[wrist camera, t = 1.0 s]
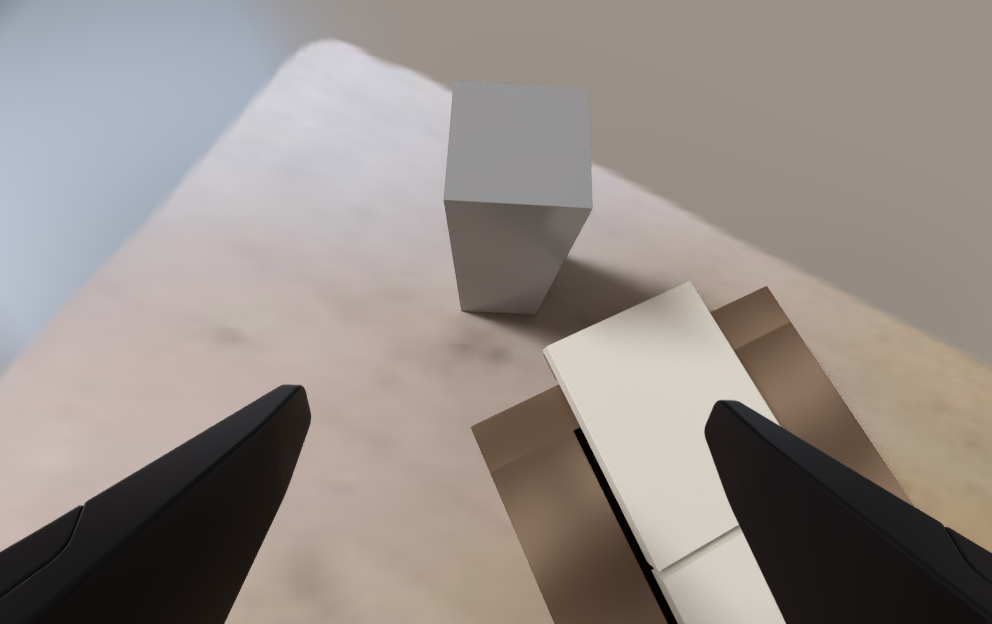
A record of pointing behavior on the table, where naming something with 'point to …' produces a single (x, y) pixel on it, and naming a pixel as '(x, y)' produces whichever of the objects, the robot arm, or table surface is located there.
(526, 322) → the table surface
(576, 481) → the box
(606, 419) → the panel
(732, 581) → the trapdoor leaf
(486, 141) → the grey stone block
